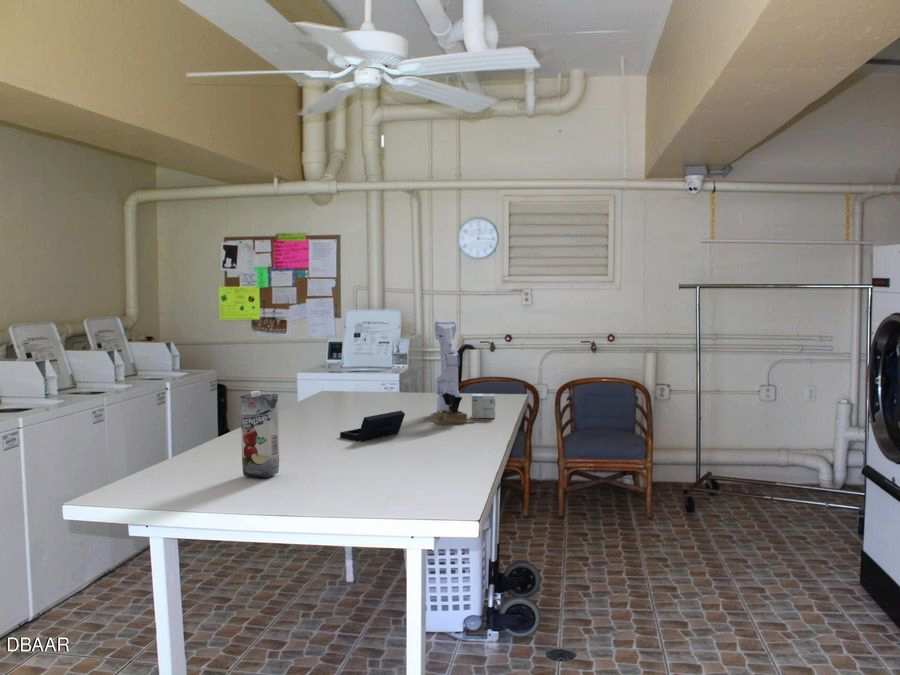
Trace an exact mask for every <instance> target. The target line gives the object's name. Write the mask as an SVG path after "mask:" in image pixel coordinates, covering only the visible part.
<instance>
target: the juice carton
mask: <svg viewBox="0 0 900 675" xmlns="http://www.w3.org/2000/svg"><path fill="white" fill-rule="evenodd" d="M239 398H240V422H241V424H240V430H241V431H240V432H241V433H240V434H241V464H242V473H243V476H244V477H254V478H255V477H256V478H264V479H266V478H268V477H272V476H273V475H277V474H278V473H279V468H280V438H279V437H280V436H279V435H280V434H279V428H280V427H279V399H278V398H279V394H277V393H269V394H268V393H261V391H260V390H252V391H250V393H247V394H244V395H240V397H239Z"/></svg>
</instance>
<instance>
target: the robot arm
mask: <svg viewBox="0 0 900 675" xmlns="http://www.w3.org/2000/svg"><path fill="white" fill-rule="evenodd" d="M433 329H434V338H435V340H437V341H438V342H439V349H440V353H439V355H440V372H441V373H440V375H439V376H437V377H436V380H435V394H436V395H437V399H436V411H434V413H436V414H437V415H438V411H441V410H446V408H445V404H451V406H452V412H453V413H455V412H458V410H459V408H460V403H461V401H462V399H463V397H462V396H460V395H461V394H460V390H459V366H460V355H459V352H457V346H456V343H454V342H453V339H455V337H456V332H457V323H456V321H455V320H435V321H434V325H433Z"/></svg>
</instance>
